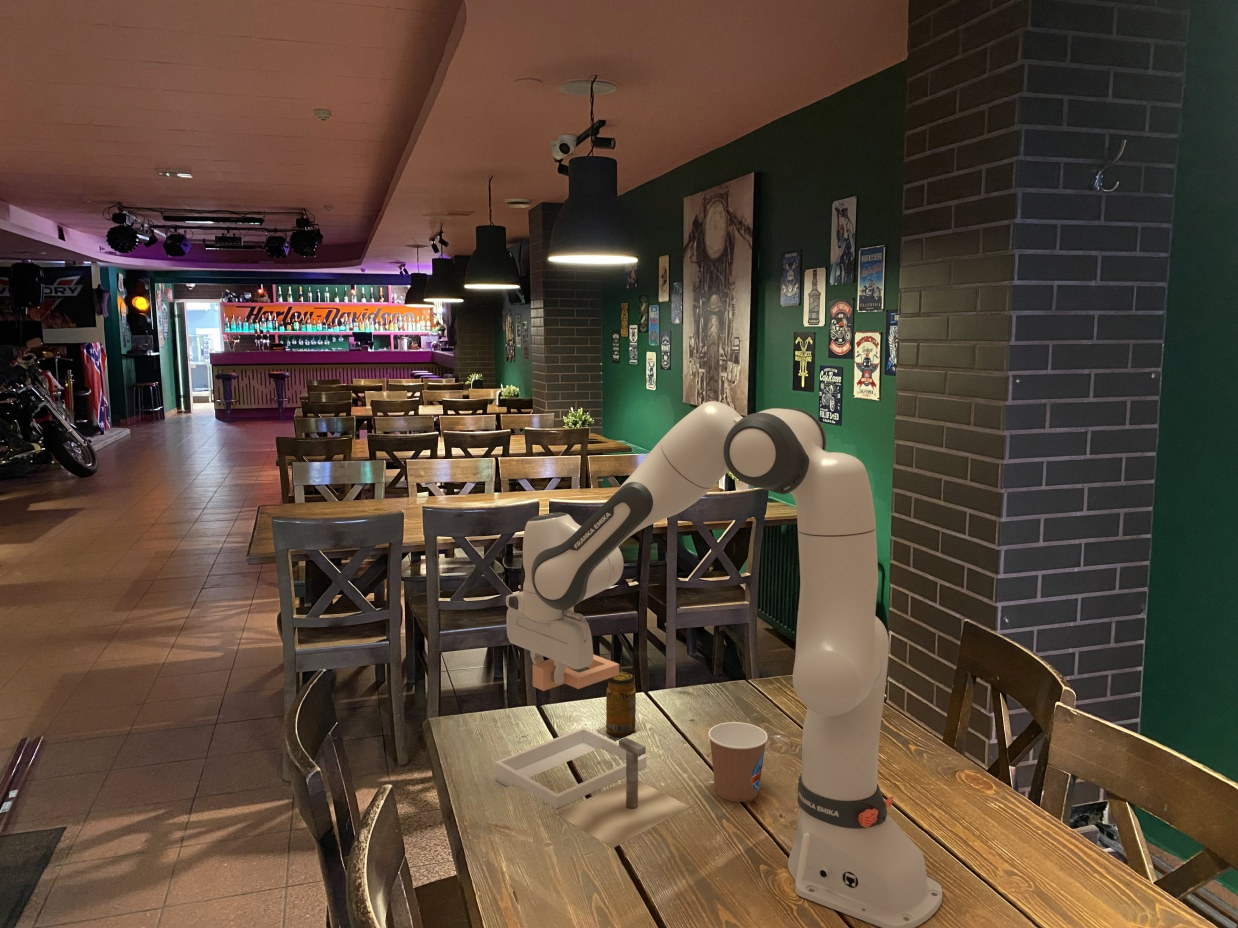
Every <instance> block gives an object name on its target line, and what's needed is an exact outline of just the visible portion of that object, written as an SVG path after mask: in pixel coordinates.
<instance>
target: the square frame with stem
mask: <svg viewBox="0 0 1238 928" xmlns="http://www.w3.org/2000/svg"><path fill="white" fill-rule="evenodd" d="M586 668H589V669H586V670H584V671H581V672H578V671H576V670H573V669H574V668H572V667H569V666H567V668H566V670H565V672H564V681H563V682H562V683H560V684H556V683H554V682H552V681H551V673H552V672H554V671H555V669H556V666H555V665H554V660H552V659H549V658H548V659H546V660H544V661H542V662H539V663H536V664H534V663H533V664H532V687H534V688H535V689H538V690H540V691H542V692H545V691H547V690H550V689H553V688H556V687H558V686H561V685H567V686H570V687H572V688H574V689H577V690H579V689H582V688H585V687H588V686H590V685H593V684H597V683H600V682H603V681H605V680H608V678H611V677H614V676H617V675H619V672H620V664H619V663H617V662H616V661H612V660H609V659H606V658H604V657H601V656H599V655H596V654H594V653H593V661H592V663H591V664H590V665H589V666H587V667H586Z"/></svg>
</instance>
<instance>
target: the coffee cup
mask: <svg viewBox="0 0 1238 928" xmlns="http://www.w3.org/2000/svg"><path fill="white" fill-rule="evenodd" d="M707 733H708V734H707V735H708V738H709V741H710V742H709V743H710V751H711V753H710V754H711V760H712V770H713V779H714V780H713V781H714V788H715V793H716V795H718V797H719V798H722V799H724V800H727V801H730V802H736V803H737V802H741V803H742V802H743V803H744V802H749V801H752V800H754V799H755V798H757V797H758V794H759V789H760V784H761V777H762V770H763V764H764V756H765V751H766V750H765V749H766V742H767V741H768V739H769V738H768V734H767V732H766V731H765V730H764V729H763V728H762V727H759V726H757V725H754V724H753V723H748V722H747V723H746V722H739V721H731V722H729V721H728V722H721V723H719V724H716V725H713V726H712V727H711V728H709V730H708V732H707Z"/></svg>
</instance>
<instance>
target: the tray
mask: <svg viewBox="0 0 1238 928" xmlns="http://www.w3.org/2000/svg"><path fill="white" fill-rule="evenodd" d="M600 748H601V749H602V750H604V751H606V752H609V753H611V754H613V755H615V756H617V757H618V758H621V759H623V760H625V761H626V750H624V749H622V748H620V747H619V742H617V741H614V740H612V739H611V738H610V739H609V737H607V736H606V737H605V735H604V736H603V735H601V734H599V733H597V732H595V731H593V730H590V729H588V728H586V727H585V726H584V727H580V728H578V729H575V730H572V731H571V732H568V733H565V734H563V735H560V736H557V737H555V738H553V739H550V740H548V741H546V742H543V743H540V744H538V745H535V746H532V747H529V748H527V749H525V750H522V751H520V752H517V753H514V754H512V755H509V756H507V757H504V758H502V759H499V760H497V761H495V762H494V771H495V773H494V774H495V776H494V778H495V781H496V782H498V783H499V784H501V785H503V786H505V787H510V786H512V785H516V786H517V787H519V788H521V789H523V790H524V791H525V792H527V793H528V794H531V795H533V796H535V797H536V798H538V799H540V800H541V801H543V802H544V803H546V804H548V805H549V806H551V807H553V808H555V809H559V808H561V807H563V806H566V805H568V804H570V803H573V802H574V801H577V800H578V799H581V798H583V797H585V796H587V795H590V794H591V793H593V792H597V790H600V789H602V788H604V787H606V786H608V785H611V784H613V783H614V782H615V783H616V782H617V781H619V780H621V779H624V778H626V762H625V763H622V764H621V765H619V766H616V767H614V768H611V769H610V770H607V771H606V772H604V773H601V774H598V775H596V776H595V777H591V778H590V779H587V780H586V781H585V780H584V781H582V782H580V783H578V784H576V785H574V786H572V787H570V788H568V789H565V790H563V791H561V792H558V793H557V792H554V791H553V790H551V789H549V788H548V787H546V786H544V785H542V784H541V783H539V782H537V781H535V780H533V779H532V777H534V776H536V775H539V774H541V773H543V772H546V771H549V770H550V769H553V768H555V767H558V766H560V765H563V764H565V763H567V762H569V761H573V760H575V759H577V758H579V757H581V756H584V755H585V754H588V753H591V752H593V751H595V750H598V749H600ZM645 768H647V756H646V755H645V754H643V755H641V756H638V772H639V771H641V770H643V769H645Z"/></svg>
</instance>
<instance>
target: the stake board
mask: <svg viewBox="0 0 1238 928" xmlns="http://www.w3.org/2000/svg"><path fill="white" fill-rule="evenodd" d="M618 744H619V747H620V748H622V749H624V750H626V760H625V763H626V777H625V781H623V782H620V783H618V784H616V785H614V786H612V787H610V788H608V789H606V790H603V791H601V792H599V793H597V794H595V795H593V796H591V797H587V798H586V799H584V800H582V801H580V802H578V803H576V804H574V805H572V806H568V807H567V808H565V809H562V810H561V811H559V812H556V813H555V814H556V815H557V816H558V817H560V818H562V819H563V820H565V821H567V822H569V823H570V824H572V825H573V826H575V827H576V828H579V829H580V830H582V831H584V832H585V833H587V834H588V835H590V836H592V837H594V838H595V839H596V840H598V841H601V842H602V843H604V844H605V845H607V846H609V847H611V848H612V849H614V848H616V847H618V846H620V845H622V844H624V843H625V842H627V841H629V840H631V839H633V838H635V837H636V836H639V835H640V834H642V833H644V832H646V831H649V829H651V828H654V827H655V826H657V825H659V824H661V823H663V822H665V821H667V820H669V819H670V818H673V817H674V816H676V815H678V814H679V813H681V812H683V811H685V810H687V809H689V808H691V806H690V805H689V804H685V803H684V802H681V801H680V800H678V799H676V798H674V797H671V796H670V795H668V794H666V793H664V792H662V791H660V790H658V789H656V788H654V787H653V786H651V785H648V784H646V783H644V782H642V781H640V780H639V771H638V756H641V755H645V754H646V753H647V752H646V751H647V750H646V745H643V744H641V743H638V742H637V741H635V740H632V739H630V738H628V737H624V738H622V739H620V740H618Z"/></svg>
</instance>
